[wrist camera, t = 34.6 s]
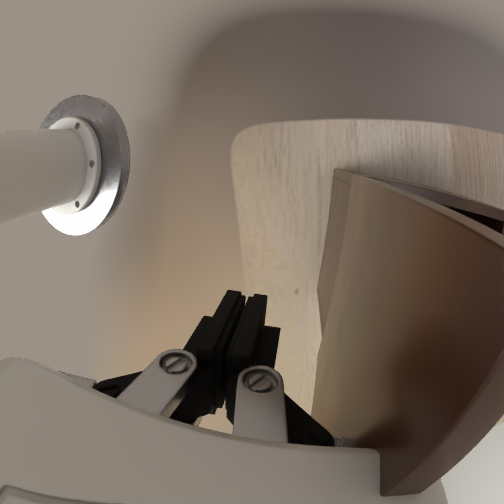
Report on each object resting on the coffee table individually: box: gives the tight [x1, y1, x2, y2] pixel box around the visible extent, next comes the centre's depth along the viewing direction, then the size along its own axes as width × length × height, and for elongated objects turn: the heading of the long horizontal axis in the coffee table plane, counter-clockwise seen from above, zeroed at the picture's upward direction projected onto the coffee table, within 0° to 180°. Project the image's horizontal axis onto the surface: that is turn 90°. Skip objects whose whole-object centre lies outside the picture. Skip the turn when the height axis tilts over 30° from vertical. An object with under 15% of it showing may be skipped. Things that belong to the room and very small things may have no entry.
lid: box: [311, 174, 504, 497], centre depth 10 cm, size 14×13×1 cm
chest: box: [317, 169, 504, 337], centre depth 21 cm, size 14×13×10 cm
